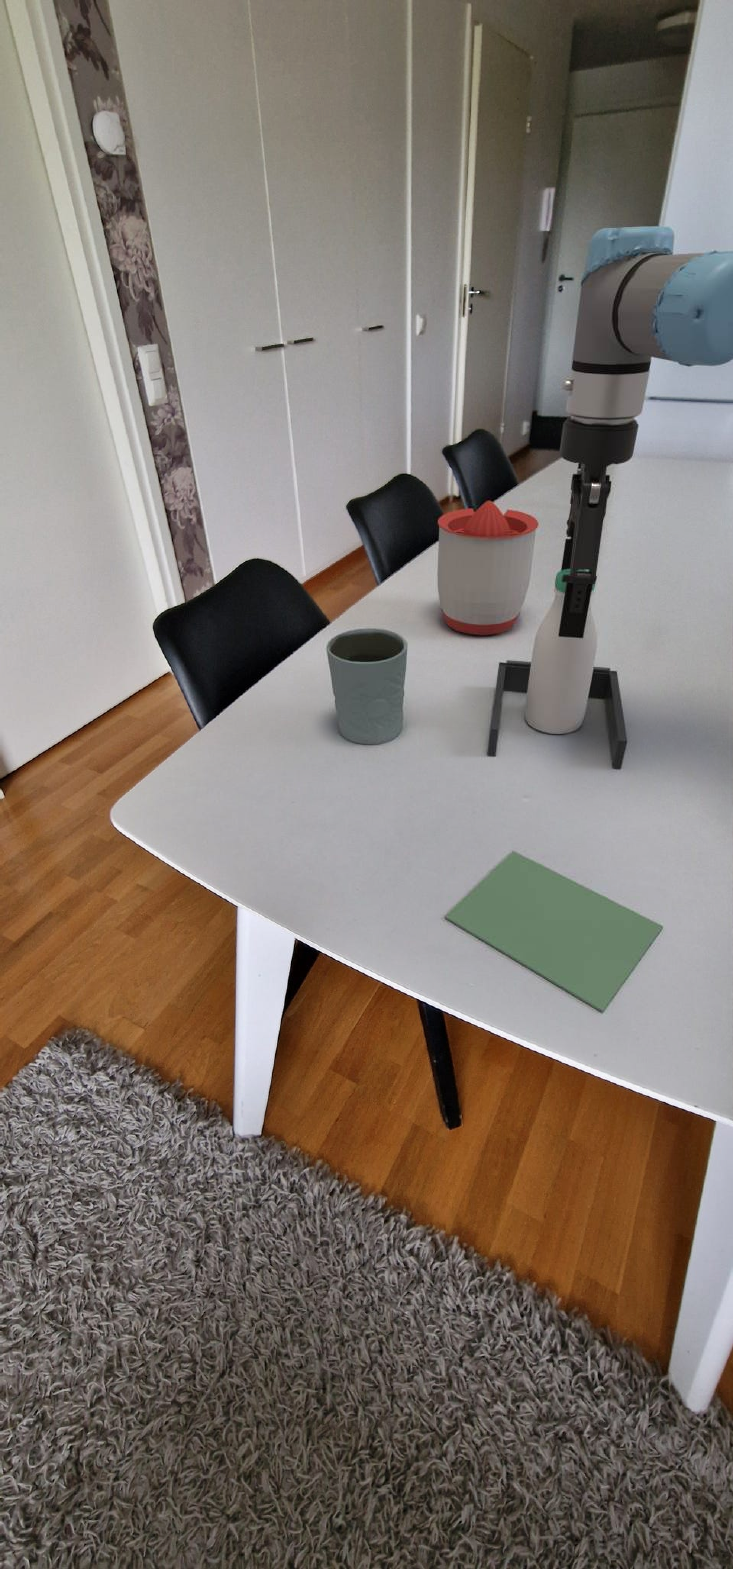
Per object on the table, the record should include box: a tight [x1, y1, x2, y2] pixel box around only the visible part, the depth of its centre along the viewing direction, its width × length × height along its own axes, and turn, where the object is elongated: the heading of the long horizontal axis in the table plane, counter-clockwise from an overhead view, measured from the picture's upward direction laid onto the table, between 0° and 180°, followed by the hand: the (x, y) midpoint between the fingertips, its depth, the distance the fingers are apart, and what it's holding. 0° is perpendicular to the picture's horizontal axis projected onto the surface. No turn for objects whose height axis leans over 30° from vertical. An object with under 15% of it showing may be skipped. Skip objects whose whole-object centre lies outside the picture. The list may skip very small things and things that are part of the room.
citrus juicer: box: [436, 500, 539, 636], centre depth 115 cm, size 16×17×20 cm
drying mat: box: [444, 850, 664, 1014], centre depth 65 cm, size 16×12×1 cm
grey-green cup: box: [325, 627, 409, 746], centre depth 90 cm, size 10×10×12 cm
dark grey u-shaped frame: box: [487, 659, 628, 770], centre depth 92 cm, size 18×16×5 cm
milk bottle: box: [524, 569, 598, 735], centre depth 88 cm, size 8×8×20 cm
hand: (569, 612), depth 85 cm, fingers open, 13 cm apart
